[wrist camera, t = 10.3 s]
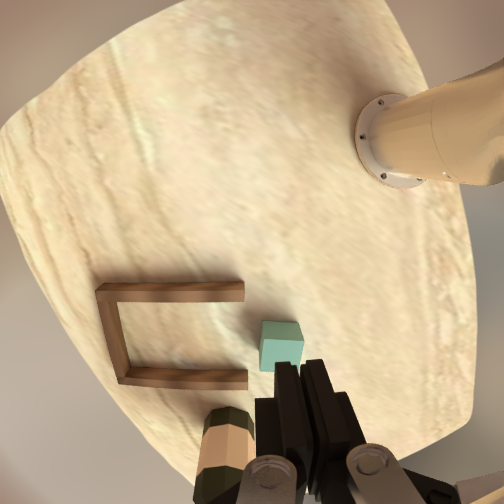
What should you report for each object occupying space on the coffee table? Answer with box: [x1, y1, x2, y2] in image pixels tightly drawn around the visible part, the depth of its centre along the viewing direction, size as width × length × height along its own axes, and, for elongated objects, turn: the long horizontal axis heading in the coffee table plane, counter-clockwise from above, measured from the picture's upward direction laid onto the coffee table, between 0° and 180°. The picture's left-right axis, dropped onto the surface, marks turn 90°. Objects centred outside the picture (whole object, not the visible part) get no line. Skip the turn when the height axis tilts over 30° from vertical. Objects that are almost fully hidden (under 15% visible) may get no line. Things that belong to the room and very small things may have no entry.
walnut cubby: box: [95, 282, 248, 390], centre depth 41 cm, size 20×16×3 cm
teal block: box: [259, 321, 304, 372], centre depth 40 cm, size 5×5×5 cm
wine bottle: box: [193, 406, 255, 504], centre depth 32 cm, size 8×8×30 cm
